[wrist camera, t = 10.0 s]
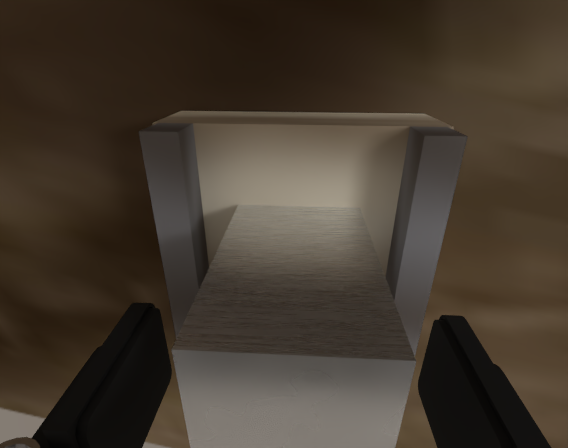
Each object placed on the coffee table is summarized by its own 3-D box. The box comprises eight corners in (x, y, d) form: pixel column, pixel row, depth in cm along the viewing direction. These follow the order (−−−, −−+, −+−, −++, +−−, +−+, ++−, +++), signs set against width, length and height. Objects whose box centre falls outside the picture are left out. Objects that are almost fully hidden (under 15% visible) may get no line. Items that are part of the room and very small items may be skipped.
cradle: (181, 110, 14) (131, 131, 10) (424, 113, 14) (474, 136, 10) (208, 328, 19) (183, 399, 15) (384, 336, 19) (406, 411, 15)
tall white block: (238, 204, 13) (171, 349, 6) (359, 207, 12) (416, 360, 6) (246, 332, 15) (204, 521, 9) (345, 336, 15) (374, 533, 9)
